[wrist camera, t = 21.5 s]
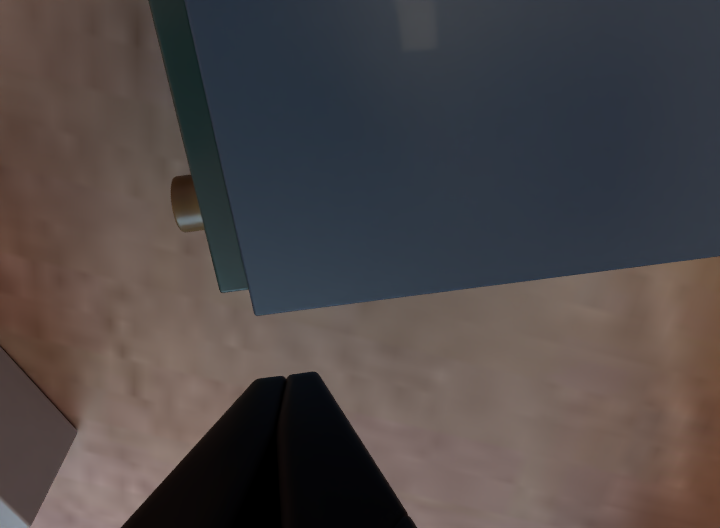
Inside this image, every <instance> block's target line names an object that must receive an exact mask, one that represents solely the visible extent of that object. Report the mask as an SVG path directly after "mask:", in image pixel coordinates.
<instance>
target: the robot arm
mask: <svg viewBox="0 0 720 528" xmlns="http://www.w3.org/2000/svg"><path fill="white" fill-rule="evenodd" d="M121 528H417V527H416V525H415V524H414V522H413V520H412V519H411V518H410V517H409V516H408V514H407V512H406V510H405V509H404V507H403V505H402V504H401V502H400V501H399V499H398V498H397V496H396V494H395V493H394V491H393V490H392V488H391V487H390V485H389V483H388V482H387V480H386V479H385V477H384V476H383V474H382V473H381V471H380V469H379V468H378V466H377V465H376V463H375V462H374V460H373V458H372V457H371V455H370V454H369V452H368V451H367V449H366V447H365V446H364V444H363V443H362V441H361V440H360V438H359V437H358V435H357V433H356V432H355V430H354V429H353V427H352V426H351V424H350V422H349V421H348V419H347V418H346V416H345V415H344V413H343V411H342V410H341V408H340V407H339V405H338V404H337V402H336V401H335V399H334V397H333V396H332V394H331V393H330V391H329V390H328V388H327V386H326V385H325V383H324V382H323V380H322V379H321V377H320V376H319V374H318V373H316V372H307V373H299V374H292V375H289V376H288V377H287V379H286V378H285V377H283V376H276V377H268V378H260V379H257V380H255V381H254V382H253V383H252V384H251V385H250V386H249V387H248V388H247V389H246V390H245V391H244V392H243V394H242V395H241V396H240V397H239V398H238V399H237V400H236V401H235V402H234V404H233V405H232V406H231V407H230V408H229V409H228V410H227V411H226V412H225V413H224V415H223V416H222V417H221V418H220V419H219V420H218V421H217V422H216V423H215V424H214V426H213V427H212V428H211V429H210V430H209V431H208V432H207V433H206V434H205V435H204V437H203V438H202V439H201V440H200V441H199V442H198V443H197V444H196V445H195V446H194V448H193V449H192V450H191V451H190V452H189V453H188V454H187V455H186V456H185V458H184V459H183V460H182V461H181V462H180V463H179V464H178V465H177V466H176V467H175V469H174V470H173V471H172V472H171V473H170V474H169V475H168V476H167V477H166V478H165V480H164V481H163V482H162V483H161V484H160V485H159V486H158V487H157V488H156V489H155V491H154V492H153V493H152V494H151V495H150V496H149V497H148V498H147V499H146V500H145V502H144V503H143V504H142V505H141V506H140V507H139V508H138V509H137V510H136V512H135V513H134V514H133V515H132V516H131V517H130V518H129V519H128V520H127V521H126V523H125V524H124V525H123V526H122V527H121Z"/></svg>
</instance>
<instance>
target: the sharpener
mask: <svg viewBox="0 0 720 528" xmlns="http://www.w3.org/2000/svg"><path fill="white" fill-rule="evenodd" d="M76 435H77V430H76V429H75V428H74V427H73V426H72V425H71V424H70V422H69V421H68V420H67V419H66V418H65V417H64V416H63V415H62V414H61V413H60V411H59V410H58V409H57V408H56V407H55V406H54V405H53V404H52V403H51V402H50V401H49V399H48V398H47V397H46V396H45V395H44V394H43V393H42V392H41V391H40V390H39V388H38V387H37V386H36V385H35V384H34V383H33V382H32V381H31V380H30V379H29V378H28V376H27V375H26V374H25V373H24V372H23V371H22V370H21V369H20V368H19V367H18V365H17V364H16V363H15V362H14V361H13V360H12V359H11V358H10V357H9V356H8V354H7V353H6V352H5V351H4V350H3V349H2V348H1V347H0V528H29V527H30V526H31V525H32V523H33V521H34V519H35V517H36V515H37V513H38V511H39V509H40V507H41V505H42V503H43V501H44V499H45V497H46V495H47V493H48V491H49V489H50V487H51V485H52V483H53V481H54V479H55V477H56V475H57V473H58V471H59V469H60V467H61V465H62V463H63V461H64V459H65V457H66V455H67V453H68V451H69V449H70V447H71V445H72V443H73V441H74V439H75V437H76Z"/></svg>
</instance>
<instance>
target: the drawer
mask: <svg viewBox="0 0 720 528" xmlns="http://www.w3.org/2000/svg"><path fill="white" fill-rule="evenodd" d="M148 1H149V5H150V9H151V13H152V17H153V21H154V26H155V30H156V34H157V38H158V42H159V46H160V50H161V54H162V58H163V62H164V66H165V70H166V74H167V78H168V83H169V87H170V91H171V95H172V99H173V103H174V107H175V111H176V115H177V119H178V123H179V127H180V131H181V135H182V140H183V144H184V148H185V152H186V156H187V160H188V164H189V168H190V172H191V175H184V176H176V177H175V178H173V180H172V184H171V203H172V209H173V213H174V217H175V220H176V223H177V225H178V227H179V228H180V230H181V231H183V232H192V231H199V230H205V233H206V237H207V241H208V245H209V249H210V254H211V258H212V262H213V266H214V270H215V274H216V278H217V282H218V286H219V290H220V292H221V293H226V292H233V291H241V290H248V289H249V288H248V284H247V279H246V275H245V270H244V266H243V261H242V257H241V252H240V248H239V243H238V239H237V234H236V230H235V225H234V221H233V216H232V212H231V207H230V203H229V198H228V194H227V190H226V185H225V181H224V176H223V172H222V167H221V163H220V158H219V154H218V149H217V145H216V140H215V136H214V131H213V127H212V122H211V118H210V113H209V109H208V104H207V100H206V95H205V91H204V87H203V82H202V78H201V73H200V69H199V64H198V60H197V55H196V51H195V46H194V42H193V37H192V33H191V28H190V24H189V19H188V15H187V10H186V6H185V1H184V0H148Z"/></svg>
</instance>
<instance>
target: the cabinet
mask: <svg viewBox="0 0 720 528" xmlns="http://www.w3.org/2000/svg"><path fill="white" fill-rule="evenodd" d="M184 1H185V6H186V10H187V15H188V19H189V24H190V28H191V33H192V37H193V42H194V46H195V51H196V55H197V60H198V64H199V69H200V73H201V78H202V82H203V87H204V91H205V95H206V100H207V104H208V109H209V113H210V118H211V122H212V127H213V131H214V136H215V140H216V145H217V149H218V154H219V158H220V163H221V167H222V172H223V176H224V181H225V185H226V190H227V194H228V198H229V203H230V207H231V212H232V216H233V221H234V225H235V230H236V234H237V239H238V243H239V248H240V252H241V257H242V261H243V266H244V270H245V275H246V279H247V284H248V288H249V293H250V297H251V301H252V306H253V310H254V314H255V315H256V316H259V315H267V314H275V313H282V312H290V311H298V310H306V309H313V308H321V307H329V306H337V305H344V304H352V303H360V302H368V301H375V300H383V299H391V298H399V297H406V296H414V295H422V294H430V293H437V292H445V291H453V290H461V289H469V288H476V287H484V286H492V285H500V284H507V283H515V282H523V281H531V280H538V279H546V278H554V277H562V276H569V275H577V274H585V273H593V272H600V271H608V270H616V269H624V268H631V267H639V266H647V265H655V264H662V263H670V262H678V261H686V260H693V259H701V258H709V257H717V256H720V0H184Z"/></svg>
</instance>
